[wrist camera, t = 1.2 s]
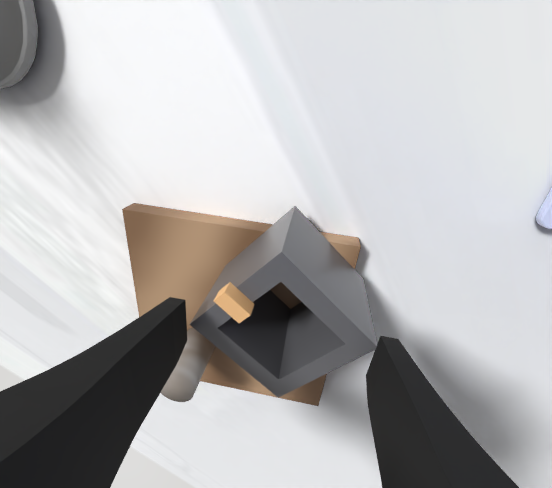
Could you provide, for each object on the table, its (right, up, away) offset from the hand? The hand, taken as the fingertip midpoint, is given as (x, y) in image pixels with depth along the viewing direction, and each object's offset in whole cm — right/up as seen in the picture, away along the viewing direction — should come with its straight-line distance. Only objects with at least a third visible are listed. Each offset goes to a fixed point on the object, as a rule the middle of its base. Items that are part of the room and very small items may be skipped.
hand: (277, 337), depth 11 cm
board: (-2, -1, +7) cm, 7 cm away
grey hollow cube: (+1, +2, +4) cm, 5 cm away
